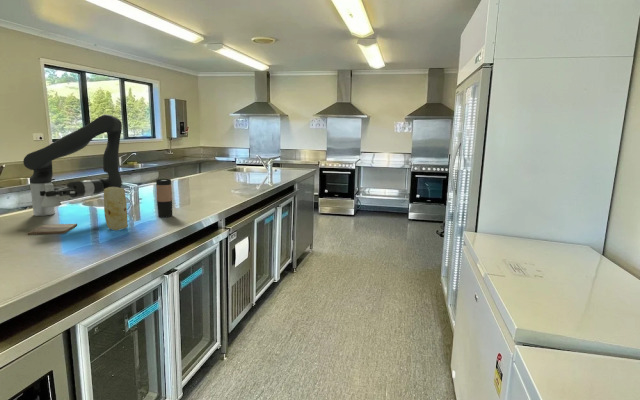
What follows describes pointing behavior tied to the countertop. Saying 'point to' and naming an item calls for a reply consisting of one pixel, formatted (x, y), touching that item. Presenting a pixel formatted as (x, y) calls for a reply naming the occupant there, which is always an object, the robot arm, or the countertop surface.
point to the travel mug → (164, 197)
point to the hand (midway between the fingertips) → (43, 194)
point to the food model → (115, 208)
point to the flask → (50, 198)
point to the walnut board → (52, 229)
